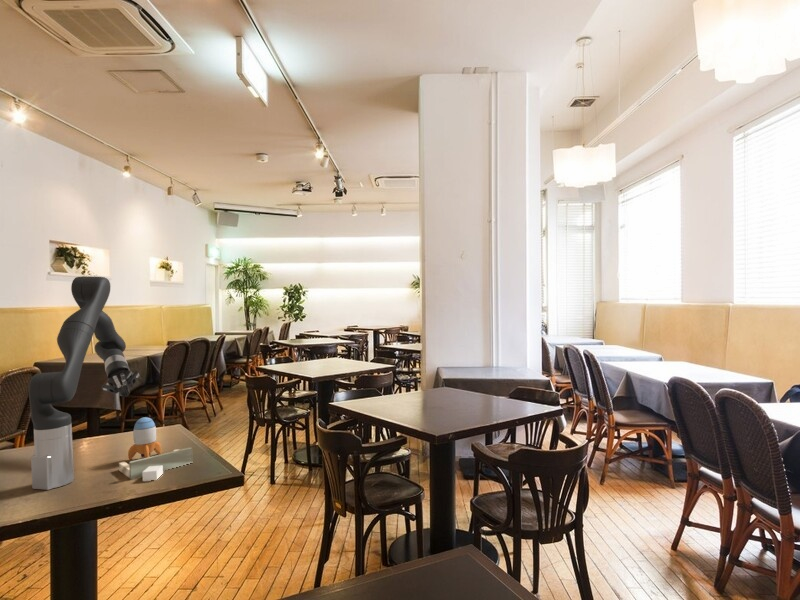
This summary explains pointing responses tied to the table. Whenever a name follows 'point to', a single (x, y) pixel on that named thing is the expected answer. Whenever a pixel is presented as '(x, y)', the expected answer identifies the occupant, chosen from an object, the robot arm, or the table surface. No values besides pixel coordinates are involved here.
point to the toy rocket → (144, 438)
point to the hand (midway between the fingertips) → (125, 394)
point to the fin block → (152, 473)
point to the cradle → (157, 462)
